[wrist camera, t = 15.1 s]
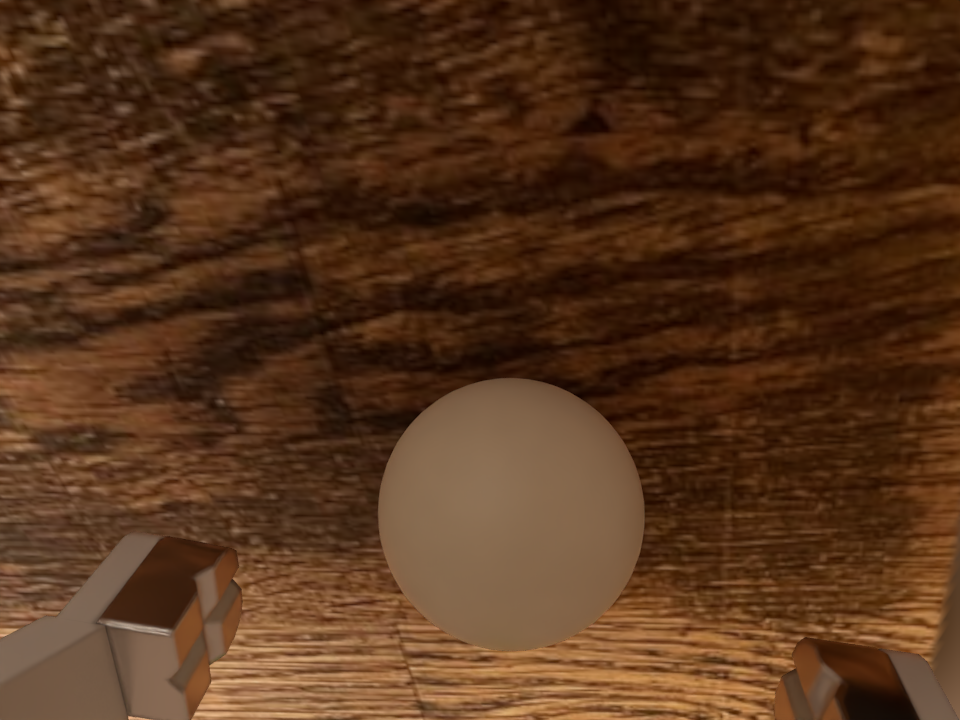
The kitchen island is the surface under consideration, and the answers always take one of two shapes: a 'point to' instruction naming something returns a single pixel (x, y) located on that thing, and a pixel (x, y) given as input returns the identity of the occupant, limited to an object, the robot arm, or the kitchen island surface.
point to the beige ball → (511, 514)
